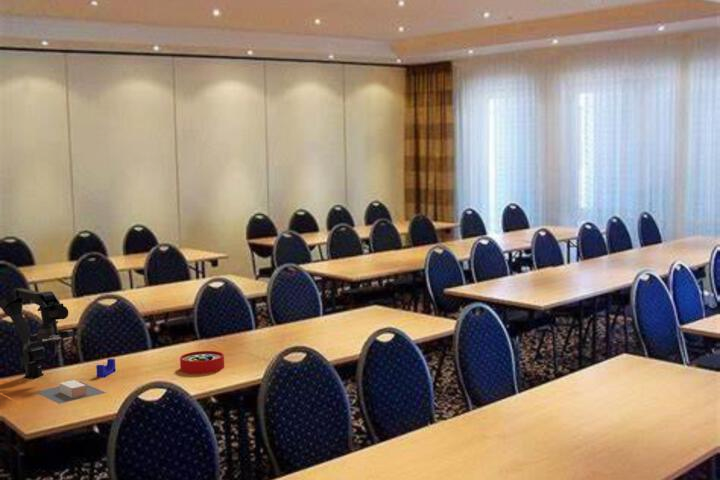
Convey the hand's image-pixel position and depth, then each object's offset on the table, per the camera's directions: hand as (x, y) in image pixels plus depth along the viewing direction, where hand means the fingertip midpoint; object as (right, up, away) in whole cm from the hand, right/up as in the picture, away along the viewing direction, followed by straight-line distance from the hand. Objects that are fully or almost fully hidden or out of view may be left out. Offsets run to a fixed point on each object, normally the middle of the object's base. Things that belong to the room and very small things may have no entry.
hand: (54, 355), depth 360 cm
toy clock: (+62, -9, +18) cm, 65 cm away
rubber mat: (+14, -14, -18) cm, 26 cm away
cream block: (+11, -11, -17) cm, 23 cm away
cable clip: (+19, -11, +10) cm, 24 cm away
